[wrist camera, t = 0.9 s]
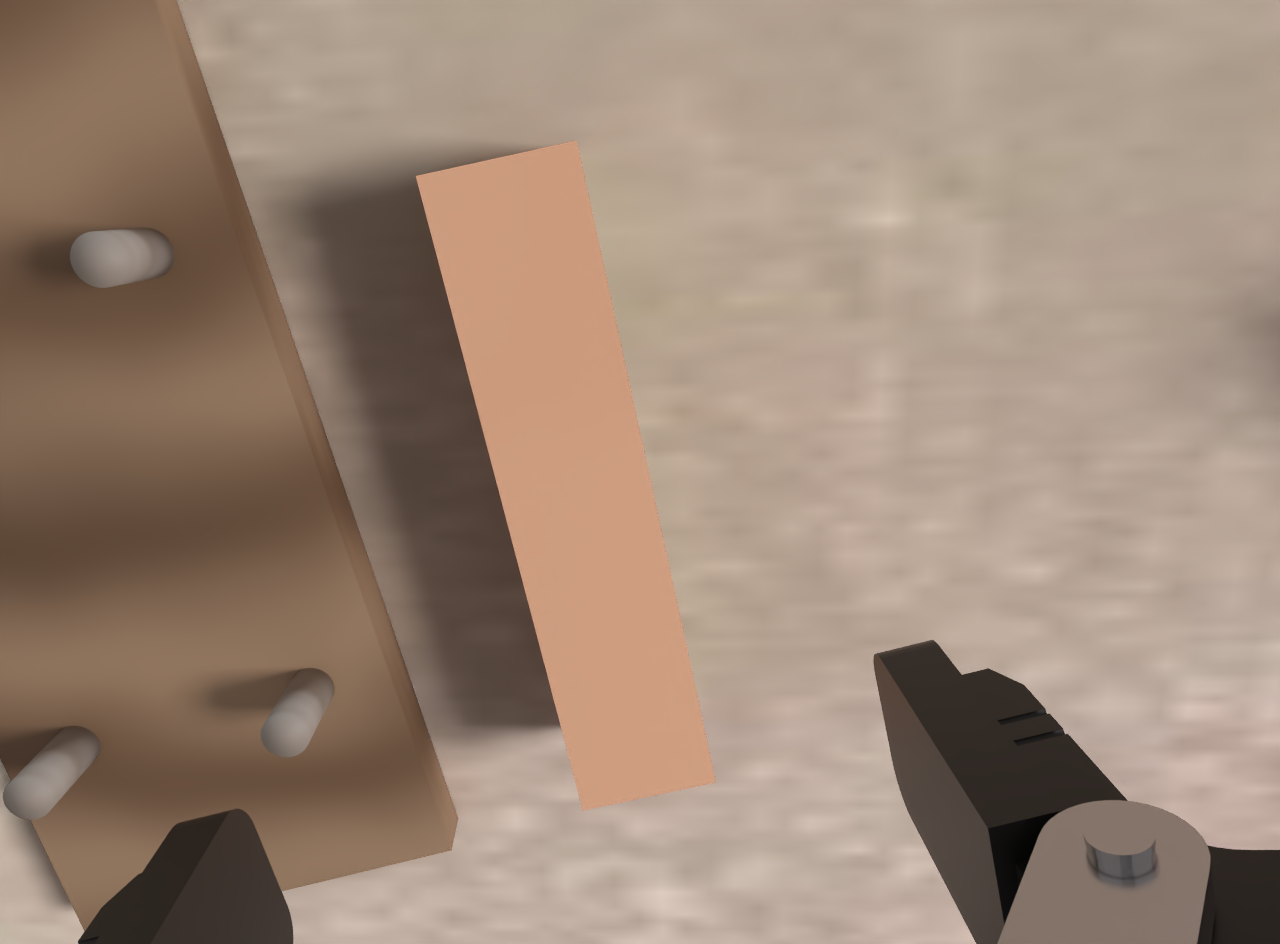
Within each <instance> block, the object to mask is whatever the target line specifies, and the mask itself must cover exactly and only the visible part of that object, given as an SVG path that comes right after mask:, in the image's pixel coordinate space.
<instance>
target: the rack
mask: <svg viewBox="0 0 1280 944" xmlns="http://www.w3.org/2000/svg"><path fill="white" fill-rule="evenodd" d="M0 759H1V761H2V763H3V765H4V767H5V769H6V771H7V773H8V775H9V777H10V779H11V782H10V783H9V784H8V785H7V786H6V788H5V789H4V792H3V800H4V803H5V805H6V807H7V808H8V810H9V811H10V812H11V813H13V814H14V815H16V816H18V817H20V818H23V819H28V820H31V822H32V824H33V826H34V828H35V830H36V832H37V834H38V836H39V839H40V841H41V843H42V845H43V847H44V849H45V851H46V853H47V855H48V857H49V859H50V861H51V863H52V865H53V867H54V869H55V871H56V873H57V875H58V878H59V880H60V882H61V884H62V886H63V888H64V890H65V892H66V894H67V896H68V898H69V900H70V902H71V904H72V906H73V908H74V910H75V912H76V914H77V916H78V919H79V921H80V923H81V925H82V927H83V929H84V931H86V929H87V928H88V926H89V925H90V923H91V922H92V920H93V919H94V918H95V916H96V915H97V913H98V912H99V910H100V909H101V908H102V907H103V906H104V905H105V904H106V903H107V902H108V901H109V900H110V899H111V898H112V897H114V896H115V895H116V894H117V893H118V892H119V891H120V890H121V889H122V888H123V887H125V886H126V885H127V884H128V883H129V882H130V881H131V880H132V879H133V878H135V877H136V876H137V875H138V874H140V873H142V872H143V870H144V869H145V867H146V866H147V864H148V863H149V861H150V860H151V858H152V857H153V855H154V854H155V852H156V851H157V850H158V848H159V847H160V845H161V844H162V842H163V841H164V839H165V838H166V836H167V835H168V833H169V832H170V830H171V829H172V828H173V826H175V825H176V824H177V823H180V822H183V821H188V820H192V819H196V818H200V817H204V816H208V815H212V814H216V813H220V812H224V811H228V810H233V809H241V810H243V811H245V812H246V813H247V814H248V815H249V816H250V818H251V819H252V821H253V823H254V825H255V828H256V830H257V833H258V835H259V837H260V840H261V842H262V845H263V847H264V850H265V852H266V855H267V857H268V859H269V862H270V864H271V867H272V869H273V872H274V874H275V877H276V879H277V882H278V884H279V886H280V889H281V891H285V890H289V889H293V888H297V887H301V886H305V885H310V884H314V883H318V882H322V881H326V880H330V879H334V878H339V877H343V876H347V875H351V874H355V873H359V872H363V871H368V870H372V869H376V868H380V867H384V866H388V865H392V864H396V863H401V862H405V861H409V860H413V859H417V858H421V857H425V856H430V855H434V854H438V853H442V852H446V851H450V850H452V845H453V840H454V836H455V831H456V826H457V821H458V817H457V814H456V811H455V808H454V805H453V803H452V800H451V797H450V794H449V791H448V788H447V785H446V782H445V779H444V776H443V774H442V771H441V768H440V765H439V762H438V759H437V756H436V753H435V750H434V747H433V744H432V742H431V739H430V736H429V733H428V730H427V727H426V724H425V721H424V718H423V715H422V713H421V710H420V707H419V704H418V701H417V698H416V695H415V692H414V689H413V686H412V683H411V681H410V678H409V675H408V672H407V669H406V666H405V663H404V660H403V657H402V654H401V652H400V649H399V646H398V643H397V640H396V637H395V634H394V631H393V628H392V625H391V622H390V620H389V617H388V614H387V611H386V608H385V605H384V602H383V599H382V596H381V593H380V591H379V588H378V585H377V582H376V579H375V576H374V573H373V570H372V567H371V564H370V562H369V559H368V556H367V553H366V550H365V547H364V544H363V541H362V538H361V535H360V532H359V530H358V527H357V524H356V521H355V518H354V515H353V512H352V509H351V506H350V503H349V501H348V498H347V495H346V492H345V489H344V486H343V483H342V480H341V477H340V474H339V471H338V469H337V466H336V463H335V460H334V457H333V454H332V451H331V448H330V445H329V442H328V440H327V437H326V434H325V431H324V428H323V425H322V422H321V419H320V416H319V413H318V410H317V408H316V405H315V402H314V399H313V396H312V393H311V390H310V387H309V384H308V381H307V379H306V376H305V373H304V370H303V367H302V364H301V361H300V358H299V355H298V352H297V350H296V347H295V344H294V341H293V338H292V335H291V332H290V329H289V326H288V323H287V320H286V318H285V315H284V312H283V309H282V306H281V303H280V300H279V297H278V294H277V291H276V289H275V286H274V283H273V280H272V277H271V274H270V271H269V268H268V265H267V262H266V259H265V257H264V254H263V251H262V248H261V245H260V242H259V239H258V236H257V233H256V230H255V228H254V225H253V222H252V219H251V216H250V213H249V210H248V207H247V204H246V201H245V198H244V196H243V193H242V190H241V187H240V184H239V181H238V178H237V175H236V172H235V169H234V167H233V164H232V161H231V158H230V155H229V152H228V149H227V146H226V143H225V140H224V138H223V135H222V132H221V129H220V126H219V123H218V120H217V117H216V114H215V111H214V108H213V106H212V103H211V100H210V97H209V94H208V91H207V88H206V85H205V82H204V79H203V77H202V74H201V71H200V68H199V65H198V62H197V59H196V56H195V53H194V50H193V47H192V45H191V42H190V39H189V36H188V33H187V30H186V27H185V24H184V21H183V18H182V16H181V13H180V10H179V7H178V4H177V1H176V0H0Z"/></svg>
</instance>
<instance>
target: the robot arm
mask: <svg viewBox="0 0 1280 944" xmlns="http://www.w3.org/2000/svg"><path fill="white" fill-rule="evenodd" d="M874 669H875V675H876V680H877V685H878V691H879V696H880V701H881V706H882V711H883V716H884V721H885V726H886V731H887V736H888V741H889V746H890V751H891V756H892V761H893V766H894V770H895V774H896V778H897V781H898V785H899V788H900V791H901V794H902V797H903V800H904V802H905V805H906V808H907V810H908V812H909V814H910V817H911V819H912V821H913V822H914V824H915V826H916V828H917V830H918V832H919V834H920V836H921V838H922V840H923V842H924V844H925V846H926V847H927V849H928V851H929V853H930V855H931V857H932V859H933V861H934V863H935V865H936V867H937V869H938V871H939V872H940V874H941V876H942V878H943V880H944V882H945V884H946V886H947V888H948V890H949V892H950V894H951V896H952V898H953V899H954V901H955V903H956V905H957V907H958V909H959V911H960V913H961V915H962V917H963V919H964V921H965V923H966V924H967V926H968V928H969V930H970V932H971V934H972V936H973V938H974V940H975V942H976V944H1280V850H1233V849H1225V848H1217V847H1212V846H1207V844H1206V842H1205V841H1204V839H1203V837H1202V836H1201V835H1200V834H1199V833H1198V832H1197V830H1196V829H1195V828H1193V827H1192V826H1191V825H1190V824H1188V823H1187V822H1186V821H1185V820H1183V819H1181V818H1179V817H1178V816H1176V815H1174V814H1172V813H1170V812H1168V811H1165V810H1163V809H1161V808H1157V807H1154V806H1151V805H1148V804H1143V803H1138V802H1132V801H1127V799H1126V798H1125V797H1124V796H1123V795H1122V794H1121V793H1120V792H1119V791H1118V789H1117V788H1116V787H1115V786H1114V785H1113V784H1112V783H1111V782H1110V780H1109V779H1108V778H1107V777H1106V776H1105V775H1104V774H1103V773H1102V772H1101V770H1100V769H1099V768H1098V767H1097V766H1096V765H1095V764H1094V763H1093V762H1092V760H1091V759H1090V758H1089V757H1088V756H1087V755H1086V754H1085V753H1084V751H1083V750H1082V749H1081V748H1080V747H1079V746H1078V745H1077V744H1076V743H1075V741H1074V740H1073V739H1072V738H1071V737H1070V736H1069V735H1068V734H1065V733H1064V731H1063V728H1062V727H1061V726H1060V725H1059V724H1058V722H1057V721H1056V720H1055V719H1054V718H1053V717H1052V716H1051V715H1050V714H1047V713H1046V710H1045V708H1044V707H1043V706H1042V705H1041V703H1040V702H1039V701H1038V700H1037V699H1036V698H1035V697H1034V696H1033V695H1032V693H1031V692H1030V691H1029V690H1028V689H1027V688H1026V687H1025V686H1024V685H1023V684H1021V683H1019V682H1017V681H1014V680H1012V679H1010V678H1008V677H1006V676H1004V675H1001V674H999V673H997V672H995V671H993V670H991V669H984V670H980V671H976V672H972V673H968V674H964V675H961V673H960V672H959V671H958V670H957V668H956V667H955V666H954V664H953V663H952V662H951V661H950V659H949V658H948V657H947V655H946V654H945V653H944V652H943V650H942V649H941V648H940V647H939V645H938V644H937V643H936V642H935V641H934V640H930V641H926V642H922V643H918V644H914V645H910V646H906V647H902V648H897V649H893V650H889V651H885V652H881V653H877V654H875V655H874ZM78 943H79V944H293V927H292V920H291V916H290V912H289V909H288V906H287V904H286V901H285V899H284V896H283V894H282V891H281V889H280V886H279V884H278V882H277V879H276V877H275V874H274V872H273V869H272V867H271V864H270V862H269V859H268V857H267V855H266V852H265V850H264V847H263V845H262V842H261V840H260V837H259V835H258V833H257V830H256V828H255V825H254V823H253V821H252V819H251V818H250V816H249V815H248V814H247V813H246V812H245V811H243V810H241V809H233V810H228V811H224V812H220V813H216V814H212V815H208V816H204V817H200V818H196V819H192V820H188V821H183V822H180V823H177V824H176V825H175V826H173V828H172V829H171V830H170V832H169V833H168V835H167V836H166V838H165V839H164V841H163V842H162V844H161V845H160V847H159V848H158V850H157V851H156V852H155V854H154V855H153V857H152V858H151V860H150V861H149V863H148V864H147V866H146V867H145V869H144V870H143V872H142V873H140V874H138V875H137V876H136V877H135V878H133V879H132V880H131V881H130V882H129V883H128V884H127V885H126V886H125V887H123V888H122V889H121V890H120V891H119V892H118V893H117V894H116V895H115V896H114V897H112V898H111V899H110V900H109V901H108V902H107V903H106V904H105V905H104V906H103V907H102V908H101V909H100V910H99V912H98V913H97V915H96V916H95V918H94V919H93V920H92V922H91V923H90V925H89V926H88V928H87V929H86V931H85V932H84V933H83V935H82V936H81V938H80V939H79V941H78Z"/></svg>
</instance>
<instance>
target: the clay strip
mask: <svg viewBox="0 0 1280 944" xmlns="http://www.w3.org/2000/svg"><path fill="white" fill-rule="evenodd" d="M416 179H417V183H418V187H419V190H420V194H421V198H422V202H423V206H424V209H425V213H426V217H427V221H428V225H429V228H430V232H431V236H432V240H433V244H434V247H435V251H436V255H437V259H438V263H439V266H440V270H441V274H442V278H443V282H444V285H445V289H446V293H447V297H448V301H449V304H450V308H451V312H452V316H453V319H454V323H455V327H456V331H457V335H458V338H459V342H460V346H461V350H462V354H463V357H464V361H465V365H466V369H467V373H468V376H469V380H470V384H471V388H472V392H473V395H474V399H475V403H476V407H477V411H478V414H479V418H480V422H481V426H482V429H483V433H484V437H485V441H486V445H487V448H488V452H489V456H490V460H491V464H492V467H493V471H494V475H495V479H496V483H497V486H498V490H499V494H500V498H501V502H502V505H503V509H504V513H505V517H506V521H507V524H508V528H509V532H510V536H511V540H512V543H513V547H514V551H515V555H516V558H517V562H518V566H519V570H520V574H521V577H522V581H523V585H524V589H525V593H526V596H527V600H528V604H529V608H530V612H531V615H532V619H533V623H534V627H535V631H536V634H537V638H538V642H539V646H540V650H541V653H542V657H543V661H544V665H545V668H546V672H547V676H548V680H549V684H550V687H551V691H552V695H553V699H554V703H555V706H556V710H557V714H558V718H559V722H560V725H561V729H562V733H563V737H564V741H565V744H566V748H567V752H568V756H569V760H570V763H571V767H572V771H573V775H574V779H575V782H576V786H577V790H578V794H579V797H580V801H581V805H582V809H583V811H584V810H588V809H593V808H598V807H602V806H607V805H612V804H616V803H621V802H626V801H630V800H635V799H640V798H645V797H649V796H654V795H659V794H663V793H668V792H673V791H677V790H682V789H687V788H692V787H696V786H701V785H706V784H710V783H715V782H716V781H715V776H714V771H713V766H712V762H711V757H710V752H709V748H708V743H707V738H706V734H705V729H704V724H703V719H702V715H701V710H700V705H699V701H698V696H697V691H696V687H695V682H694V678H693V673H692V668H691V664H690V659H689V655H688V650H687V645H686V641H685V636H684V632H683V627H682V622H681V618H680V613H679V609H678V604H677V599H676V595H675V590H674V586H673V581H672V576H671V572H670V567H669V563H668V558H667V553H666V549H665V544H664V540H663V535H662V530H661V526H660V521H659V517H658V512H657V507H656V503H655V498H654V494H653V489H652V484H651V480H650V475H649V471H648V466H647V461H646V457H645V452H644V448H643V443H642V438H641V434H640V429H639V425H638V420H637V415H636V411H635V406H634V401H633V397H632V392H631V388H630V383H629V378H628V374H627V369H626V365H625V360H624V355H623V351H622V346H621V342H620V337H619V332H618V328H617V323H616V319H615V314H614V309H613V305H612V300H611V296H610V291H609V286H608V282H607V277H606V273H605V268H604V263H603V259H602V254H601V250H600V245H599V240H598V236H597V231H596V227H595V222H594V217H593V213H592V208H591V204H590V199H589V194H588V190H587V185H586V181H585V176H584V171H583V167H582V162H581V158H580V153H579V149H578V145H577V141H572V142H567V143H563V144H558V145H554V146H549V147H545V148H540V149H536V150H531V151H527V152H522V153H518V154H513V155H508V156H504V157H499V158H495V159H490V160H486V161H481V162H477V163H472V164H468V165H463V166H459V167H454V168H450V169H445V170H440V171H436V172H431V173H427V174H422V175H418V176H416Z"/></svg>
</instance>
